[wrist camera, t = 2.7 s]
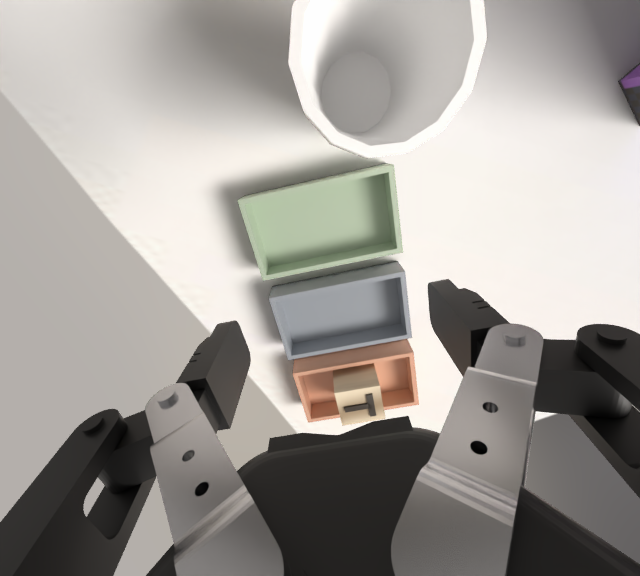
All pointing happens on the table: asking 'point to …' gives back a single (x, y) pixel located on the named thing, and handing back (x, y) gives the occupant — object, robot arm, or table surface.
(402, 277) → the slate tray
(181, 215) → the table surface
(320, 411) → the terracotta tray
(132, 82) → the table surface
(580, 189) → the table surface
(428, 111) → the foam cup
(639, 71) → the cereal box
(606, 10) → the table surface
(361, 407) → the letter cube
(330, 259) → the sage tray
